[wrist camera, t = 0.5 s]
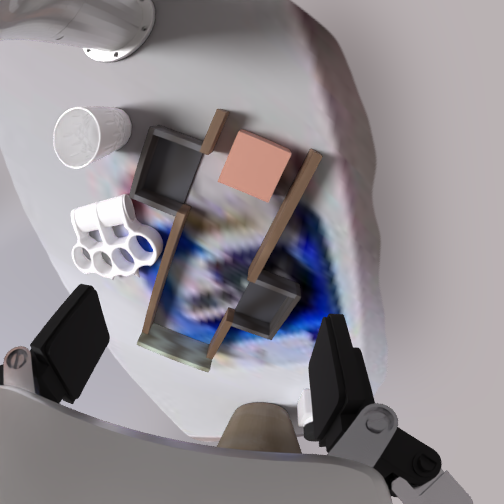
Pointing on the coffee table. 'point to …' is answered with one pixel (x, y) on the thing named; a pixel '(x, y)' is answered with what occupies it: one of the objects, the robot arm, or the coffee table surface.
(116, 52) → the robot arm
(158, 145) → the channel
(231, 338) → the coffee table surface
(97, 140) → the white cup
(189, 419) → the coffee table surface
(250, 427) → the plant pot
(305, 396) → the medicine bottle
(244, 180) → the salmon pink square block
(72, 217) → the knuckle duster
